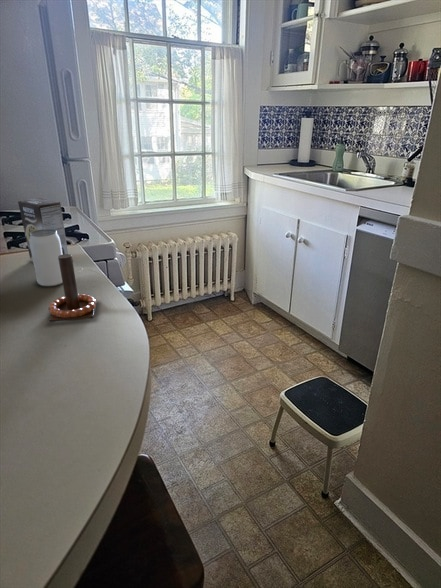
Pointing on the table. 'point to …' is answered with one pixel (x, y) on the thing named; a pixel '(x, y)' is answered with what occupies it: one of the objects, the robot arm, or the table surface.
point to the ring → (72, 313)
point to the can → (46, 256)
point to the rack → (70, 290)
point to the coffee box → (42, 219)
